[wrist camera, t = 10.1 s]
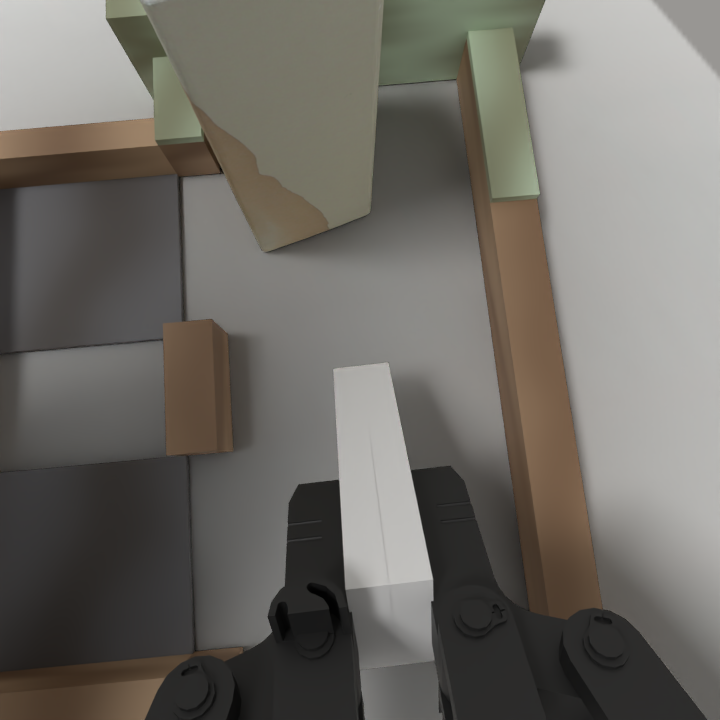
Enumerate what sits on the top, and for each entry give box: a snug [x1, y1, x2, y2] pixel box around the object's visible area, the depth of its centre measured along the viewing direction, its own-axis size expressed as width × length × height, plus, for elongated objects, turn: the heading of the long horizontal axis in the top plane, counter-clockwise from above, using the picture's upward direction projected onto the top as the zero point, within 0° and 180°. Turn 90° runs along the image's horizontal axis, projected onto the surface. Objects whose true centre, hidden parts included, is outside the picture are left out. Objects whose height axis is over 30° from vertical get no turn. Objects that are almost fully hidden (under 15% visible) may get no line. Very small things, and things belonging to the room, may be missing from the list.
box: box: [140, 0, 384, 252], centre depth 14 cm, size 5×4×11 cm
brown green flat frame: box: [0, 0, 603, 720], centre depth 16 cm, size 20×24×4 cm
